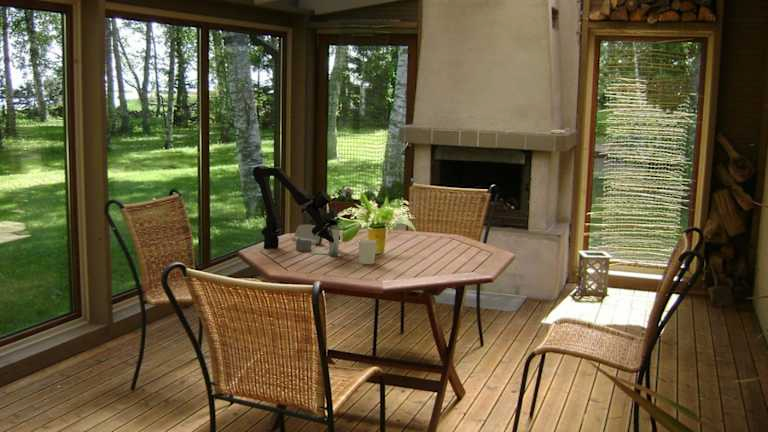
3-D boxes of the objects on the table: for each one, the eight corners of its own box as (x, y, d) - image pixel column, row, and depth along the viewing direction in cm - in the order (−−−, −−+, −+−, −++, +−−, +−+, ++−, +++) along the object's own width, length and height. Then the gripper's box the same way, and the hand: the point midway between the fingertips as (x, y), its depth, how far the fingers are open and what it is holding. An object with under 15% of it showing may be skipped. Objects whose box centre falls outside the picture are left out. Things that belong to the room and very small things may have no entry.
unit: (296, 250, 390) (296, 238, 390) (295, 248, 395) (296, 237, 394) (310, 250, 391) (311, 239, 390) (310, 248, 396) (310, 237, 395)
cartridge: (328, 256, 380) (329, 226, 378) (328, 254, 385) (329, 224, 383) (338, 256, 381) (339, 226, 379) (337, 254, 385) (339, 225, 383)
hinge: (290, 240, 414) (296, 221, 415) (296, 242, 418) (302, 223, 419) (315, 245, 404) (320, 226, 405) (321, 248, 408) (326, 228, 409)
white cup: (378, 263, 371) (380, 241, 369) (365, 265, 366) (366, 243, 364) (367, 260, 377) (368, 238, 375) (354, 262, 371) (355, 240, 370)
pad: (311, 254, 384) (311, 253, 384) (310, 250, 392) (310, 249, 392) (328, 254, 385) (328, 253, 385) (327, 250, 393) (327, 250, 393)
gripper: (318, 206, 372) (339, 233, 370) (336, 201, 389) (356, 227, 387) (302, 221, 376) (323, 248, 374) (320, 216, 393) (340, 241, 391)
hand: (336, 240), depth 381 cm, fingers open, 7 cm apart
